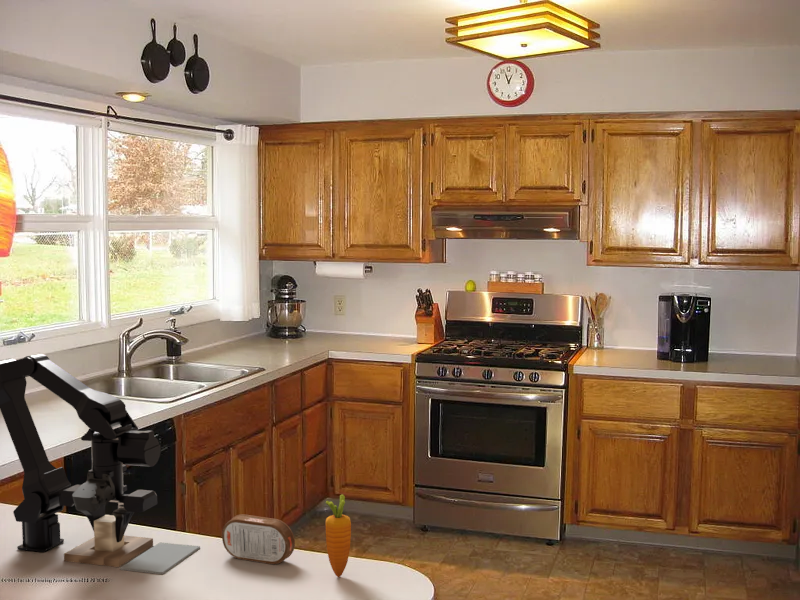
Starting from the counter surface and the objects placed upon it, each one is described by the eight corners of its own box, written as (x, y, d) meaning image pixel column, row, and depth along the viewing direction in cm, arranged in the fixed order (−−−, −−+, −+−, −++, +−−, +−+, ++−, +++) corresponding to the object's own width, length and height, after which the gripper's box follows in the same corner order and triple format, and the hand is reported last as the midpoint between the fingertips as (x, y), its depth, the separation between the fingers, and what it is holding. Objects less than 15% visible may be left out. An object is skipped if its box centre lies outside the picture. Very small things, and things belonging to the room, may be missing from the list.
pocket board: (64, 561, 163) (63, 553, 163) (101, 540, 175) (101, 533, 175) (118, 567, 160) (118, 559, 160) (153, 545, 172) (152, 538, 172)
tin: (296, 562, 162) (295, 519, 162) (288, 568, 159) (287, 524, 159) (228, 552, 168) (227, 511, 167) (219, 558, 165) (219, 515, 164)
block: (94, 555, 166) (93, 520, 166) (106, 548, 170) (106, 514, 170) (112, 557, 165) (111, 522, 165) (124, 550, 169) (123, 516, 169)
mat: (120, 569, 159) (120, 567, 159) (160, 544, 172) (160, 542, 172) (162, 574, 157) (162, 572, 157) (199, 548, 170) (199, 546, 170)
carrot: (331, 584, 152) (330, 502, 151) (320, 574, 156) (320, 494, 155) (356, 579, 154) (356, 498, 153) (345, 569, 158) (344, 491, 157)
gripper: (39, 470, 161) (41, 550, 162) (125, 477, 156) (127, 559, 157) (76, 456, 172) (78, 531, 173) (157, 462, 167) (159, 539, 168)
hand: (109, 540), depth 167 cm, fingers closed on block, 4 cm apart
